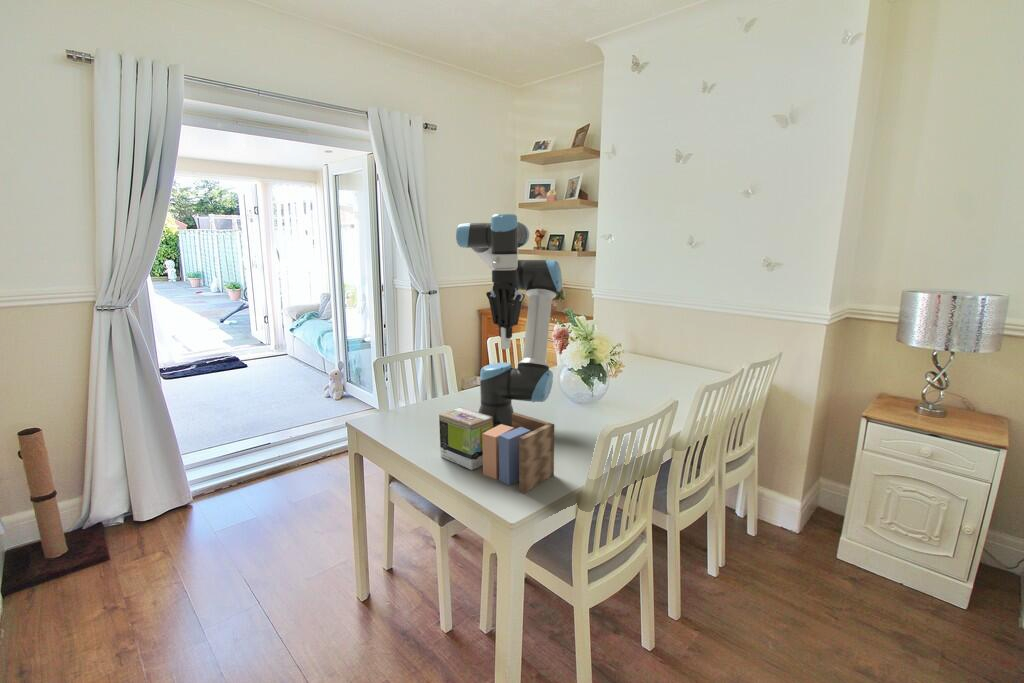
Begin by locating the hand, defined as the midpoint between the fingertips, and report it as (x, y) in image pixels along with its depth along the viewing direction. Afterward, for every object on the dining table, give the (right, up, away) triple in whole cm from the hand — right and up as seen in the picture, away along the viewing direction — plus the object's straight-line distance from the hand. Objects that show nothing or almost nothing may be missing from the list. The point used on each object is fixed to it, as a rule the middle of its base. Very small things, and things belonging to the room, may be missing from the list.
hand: (505, 348), depth 143 cm
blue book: (+3, -38, -3) cm, 38 cm away
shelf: (+4, -38, -2) cm, 38 cm away
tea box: (-13, -36, +9) cm, 39 cm away
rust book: (-2, -37, +1) cm, 37 cm away
